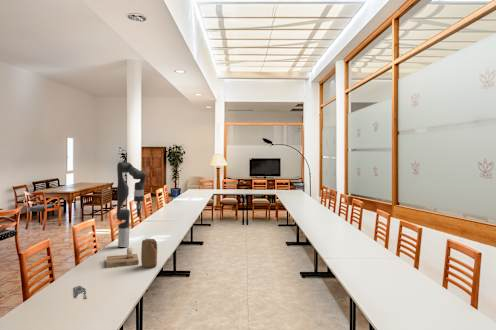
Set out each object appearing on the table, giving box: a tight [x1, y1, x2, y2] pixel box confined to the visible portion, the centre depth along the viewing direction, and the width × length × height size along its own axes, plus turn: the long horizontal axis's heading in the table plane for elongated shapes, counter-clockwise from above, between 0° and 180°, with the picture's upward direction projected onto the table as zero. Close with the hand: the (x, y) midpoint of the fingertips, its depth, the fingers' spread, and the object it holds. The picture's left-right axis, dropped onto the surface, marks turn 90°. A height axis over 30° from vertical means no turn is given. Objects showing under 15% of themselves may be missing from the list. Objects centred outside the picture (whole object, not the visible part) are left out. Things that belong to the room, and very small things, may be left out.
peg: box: [126, 247, 133, 259], centre depth 243 cm, size 4×4×10 cm
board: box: [105, 253, 140, 269], centre depth 241 cm, size 18×22×3 cm
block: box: [140, 238, 158, 269], centre depth 233 cm, size 11×8×20 cm
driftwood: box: [73, 285, 88, 299], centre depth 186 cm, size 21×7×2 cm, turn 28°
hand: (138, 216), depth 258 cm, fingers closed
